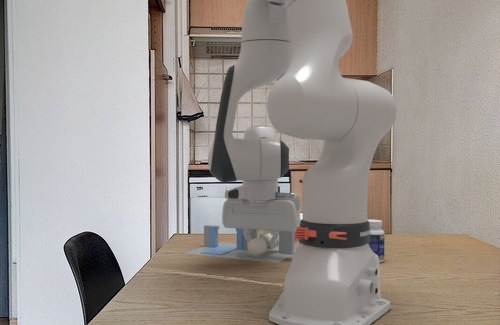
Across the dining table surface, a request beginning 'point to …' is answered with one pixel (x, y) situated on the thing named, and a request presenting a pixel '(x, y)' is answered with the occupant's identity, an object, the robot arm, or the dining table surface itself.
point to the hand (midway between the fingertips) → (260, 247)
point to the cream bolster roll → (261, 244)
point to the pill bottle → (377, 239)
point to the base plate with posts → (244, 246)
